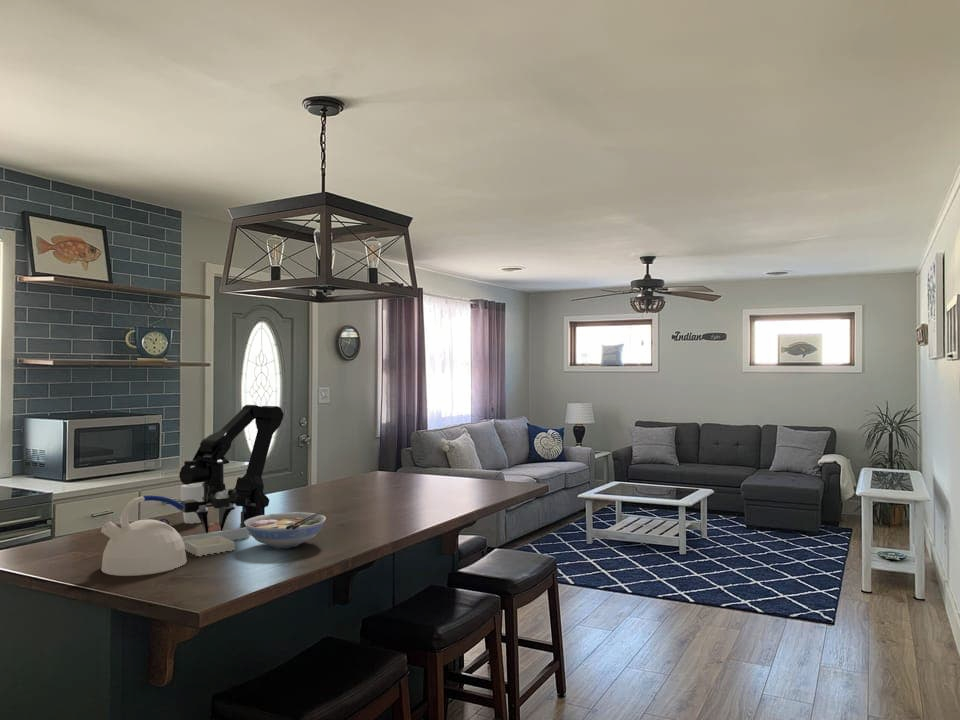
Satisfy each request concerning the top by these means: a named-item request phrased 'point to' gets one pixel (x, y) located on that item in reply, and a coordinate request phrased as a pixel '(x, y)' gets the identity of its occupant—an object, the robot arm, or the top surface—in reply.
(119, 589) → the top surface
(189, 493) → the cup
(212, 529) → the ball
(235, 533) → the wall
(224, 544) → the dish
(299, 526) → the ramen bowl
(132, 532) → the kettle
